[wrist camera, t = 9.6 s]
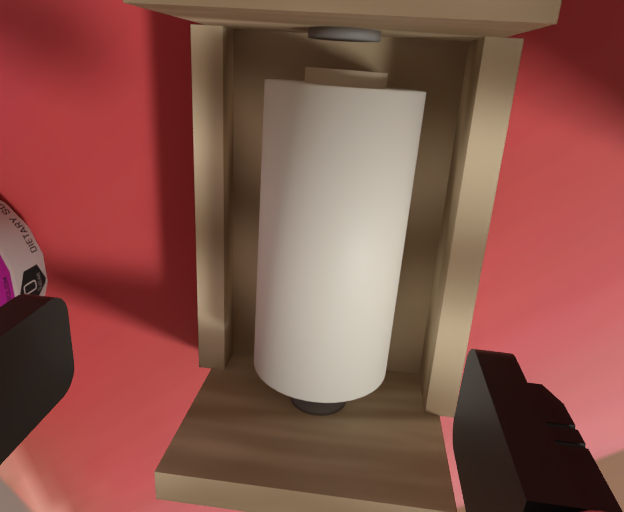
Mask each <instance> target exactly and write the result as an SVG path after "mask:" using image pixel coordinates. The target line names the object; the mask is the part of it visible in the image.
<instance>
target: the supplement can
mask: <svg viewBox="0 0 624 512" xmlns="http://www.w3.org/2000/svg"><path fill="white" fill-rule="evenodd" d="M47 283H48V280H47V274H46V269H45V263H44V257H43V253H42V251H41V249H40V247H39V246H38V244H37V242H36V240H35V238H34V236H33V234H32V232H31V230H30V229H29V227H28V226H27V225H26V224H25V223H24V221H23V220H22V219H21V218H20V217H19V216H18V215H17V214H16V213H15V212H14V211H13V210H12V209H11V208H10V207H9V206H8V205H7V204H6V203H5V202H3V201H1V200H0V307H1V306H2V305H4V304H5V303H7V302H8V301H10V300H11V299H13V298H14V297H16V296H18V295H20V294H30V295H38V296H45V293H46V288H47Z"/></svg>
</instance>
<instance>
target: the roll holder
mask: <svg viewBox="0 0 624 512" xmlns="http://www.w3.org/2000/svg"><path fill="white" fill-rule="evenodd" d="M561 1H562V0H123V3H127V4H131V5H134V6H138V7H142V8H145V9H149V10H153V11H156V12H160V13H164V14H167V15H171V16H175V17H178V18H182V19H186V20H189V21H193V22H197V23H200V24H204V25H194V24H190V25H191V65H192V104H193V144H194V183H195V223H196V262H197V302H198V341H199V367H204V368H212V369H211V371H210V372H209V374H208V376H207V378H206V380H205V382H204V383H203V385H202V387H201V389H200V391H199V392H198V394H197V396H196V398H195V400H194V401H193V403H192V405H191V407H190V409H189V410H188V412H187V414H186V416H185V418H184V419H183V421H182V423H181V425H180V427H179V429H178V430H177V432H176V434H175V436H174V438H173V439H172V441H171V443H170V445H169V447H168V448H167V450H166V452H165V454H164V456H163V457H162V459H161V461H160V463H159V465H158V466H157V468H156V470H155V487H156V499H161V500H168V501H175V502H182V503H189V504H196V505H203V506H211V507H218V508H225V509H232V510H239V511H246V512H457V508H456V503H455V498H454V492H453V487H452V481H451V476H450V470H449V465H448V460H447V454H446V449H445V443H444V438H443V432H442V427H441V422H440V416H446V417H454V415H455V410H456V404H457V399H458V393H459V388H460V383H461V377H462V372H463V366H464V361H465V356H466V350H467V345H468V339H469V334H470V328H471V323H472V318H473V312H474V307H475V301H476V296H477V291H478V285H479V280H480V274H481V269H482V263H483V258H484V253H485V247H486V242H487V236H488V231H489V226H490V220H491V215H492V209H493V204H494V198H495V193H496V188H497V182H498V177H499V171H500V166H501V161H502V155H503V150H504V144H505V139H506V133H507V128H508V123H509V117H510V112H511V106H512V101H513V96H514V90H515V85H516V79H517V74H518V68H519V63H520V58H521V52H522V47H523V41H524V39H522V38H505V37H509V36H512V35H516V34H520V33H524V32H528V31H531V30H535V29H539V28H543V27H547V26H550V25H554V24H557V21H558V16H559V11H560V6H561ZM305 67H315V68H327V69H340V70H353V71H366V72H378V73H388V76H387V84H386V87H391V88H401V89H409V90H417V91H424V92H426V98H425V105H424V112H423V119H422V126H421V133H420V140H419V147H418V154H417V160H416V167H415V174H414V181H413V188H412V195H411V202H410V209H409V216H408V222H407V229H406V236H405V243H404V250H403V257H402V264H401V271H400V278H399V284H398V291H397V298H396V305H395V312H394V319H393V326H392V333H391V340H390V347H389V353H388V360H387V367H386V374H385V378H384V380H383V382H382V383H381V385H380V386H379V387H378V388H377V389H376V390H374V391H373V392H371V393H370V394H368V395H366V396H363V397H361V398H358V399H355V400H351V401H345V402H337V403H320V402H311V401H304V400H300V399H296V398H293V397H290V396H287V395H285V394H282V393H280V392H278V391H276V390H275V389H273V388H271V387H270V386H269V385H267V384H266V383H265V382H264V381H263V380H262V379H261V378H260V377H259V375H258V374H257V372H256V370H255V367H254V342H255V316H256V290H257V265H258V239H259V213H260V187H261V161H262V136H263V110H264V84H265V79H286V80H304V81H305Z"/></svg>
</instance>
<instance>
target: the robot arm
mask: <svg viewBox="0 0 624 512" xmlns="http://www.w3.org/2000/svg"><path fill="white" fill-rule="evenodd" d="M73 374H74V359H73V351H72V342H71V334H70V325H69V317H68V310H67V306H66V304H65V302H64V301H63V300H62V299H60V298H54V297H46V296H38V295H30V294H20V295H18V296H16V297H14V298H13V299H11V300H10V301H8V302H7V303H5V304H4V305H2V306H1V307H0V465H1V464H2V462H3V461H4V460H5V459H6V458H7V457H8V456H9V455H10V454H11V453H12V452H13V451H14V450H15V448H16V447H17V446H18V445H19V444H20V443H21V442H22V441H23V440H24V439H25V438H26V437H27V436H28V434H29V433H30V432H31V431H32V430H33V429H34V428H35V427H36V426H37V425H38V424H39V423H40V422H41V420H42V419H43V418H44V417H45V416H46V415H47V414H48V413H49V412H50V411H51V410H52V409H53V408H54V406H55V405H56V404H57V403H58V402H59V401H60V400H61V399H62V398H63V397H64V395H65V394H66V393H67V391H68V389H69V387H70V385H71V382H72V379H73ZM453 449H454V455H455V460H456V465H457V470H458V474H459V479H460V484H461V489H462V494H463V499H464V504H465V509H466V512H622V510H621V508H620V506H619V504H618V502H617V501H616V499H615V497H614V495H613V493H612V491H611V490H610V488H609V486H608V484H607V482H606V481H605V479H604V477H603V475H602V473H601V471H600V470H599V468H598V466H597V464H596V462H595V460H594V459H593V457H592V455H591V453H590V451H589V450H588V449H586V448H585V442H584V440H583V439H582V437H581V435H580V433H579V431H578V430H575V424H574V422H573V420H572V419H571V417H570V415H569V413H568V411H567V409H566V408H565V406H564V404H563V403H562V402H561V401H560V400H559V399H557V398H556V397H555V396H554V395H553V394H552V393H551V392H550V391H549V390H547V389H546V388H545V387H544V386H543V385H542V384H534V383H527V381H526V379H525V376H524V374H523V372H522V370H521V368H520V366H519V364H518V362H517V360H516V358H515V356H514V355H513V354H510V353H502V352H494V351H485V350H477V349H471V350H470V351H469V353H468V356H467V360H466V364H465V369H464V373H463V378H462V383H461V387H460V392H459V397H458V401H457V406H456V411H455V416H454V422H453Z"/></svg>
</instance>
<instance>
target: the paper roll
mask: <svg viewBox="0 0 624 512" xmlns="http://www.w3.org/2000/svg"><path fill="white" fill-rule="evenodd" d="M387 76H388V73H378V72H366V71H353V70H340V69H327V68H315V67H305V81H304V80H286V79H265V84H264V110H263V136H262V161H261V187H260V213H259V239H258V265H257V290H256V316H255V342H254V367H255V370H256V372H257V374H258V375H259V377H260V378H261V379H262V380H263V381H264V382H265V383H266V384H267V385H269V386H270V387H271V388H273V389H275V390H276V391H278V392H280V393H282V394H285V395H287V396H290V397H293V398H296V399H300V400H304V401H311V402H320V403H337V402H345V401H351V400H355V399H358V398H361V397H363V396H366V395H368V394H370V393H371V392H373V391H374V390H376V389H377V388H378V387H379V386H380V385H381V383H382V382H383V380H384V378H385V374H386V367H387V360H388V353H389V347H390V340H391V333H392V326H393V319H394V312H395V305H396V298H397V291H398V284H399V278H400V271H401V264H402V257H403V250H404V243H405V236H406V229H407V222H408V216H409V209H410V202H411V195H412V188H413V181H414V174H415V167H416V160H417V154H418V147H419V140H420V133H421V126H422V119H423V112H424V105H425V98H426V92H424V91H417V90H409V89H401V88H391V87H386V84H387Z"/></svg>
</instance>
